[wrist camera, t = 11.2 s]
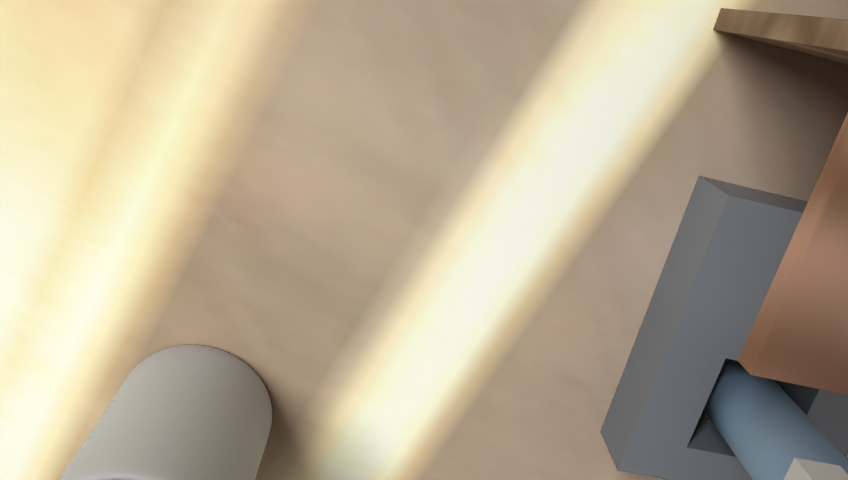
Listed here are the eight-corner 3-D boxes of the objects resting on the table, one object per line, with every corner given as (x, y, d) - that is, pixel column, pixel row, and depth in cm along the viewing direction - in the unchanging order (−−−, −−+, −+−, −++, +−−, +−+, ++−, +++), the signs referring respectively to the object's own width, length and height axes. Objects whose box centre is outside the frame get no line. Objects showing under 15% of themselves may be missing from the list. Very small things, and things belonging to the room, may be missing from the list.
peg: (705, 343, 40) (825, 485, 29) (770, 356, 40) (913, 502, 29) (680, 402, 41) (786, 560, 30) (743, 415, 42) (870, 575, 31)
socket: (699, 176, 37) (728, 195, 33) (906, 225, 38) (954, 248, 35) (600, 431, 42) (617, 470, 39) (786, 467, 43) (817, 507, 40)
